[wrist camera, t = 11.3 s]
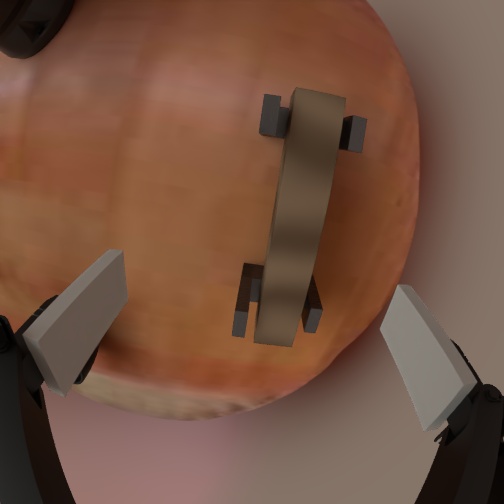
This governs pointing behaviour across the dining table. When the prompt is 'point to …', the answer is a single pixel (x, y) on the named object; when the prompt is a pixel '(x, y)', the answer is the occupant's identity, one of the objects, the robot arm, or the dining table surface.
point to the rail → (298, 212)
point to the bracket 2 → (251, 292)
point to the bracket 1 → (277, 119)
